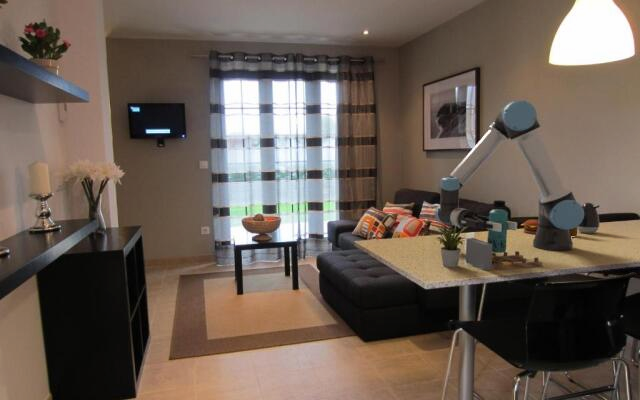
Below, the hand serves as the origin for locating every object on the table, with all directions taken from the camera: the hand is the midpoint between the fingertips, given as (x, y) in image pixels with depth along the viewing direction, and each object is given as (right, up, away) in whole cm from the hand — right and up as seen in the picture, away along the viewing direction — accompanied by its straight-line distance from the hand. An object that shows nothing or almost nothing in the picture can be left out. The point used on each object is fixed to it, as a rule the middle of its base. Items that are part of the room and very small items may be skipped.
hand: (508, 227), depth 156 cm
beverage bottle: (-2, -11, +6) cm, 12 cm away
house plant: (-20, -14, +6) cm, 25 cm away
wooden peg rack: (+2, -14, +7) cm, 16 cm away
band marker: (-2, -13, +6) cm, 14 cm away
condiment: (+54, -8, +59) cm, 80 cm away
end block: (-9, -14, +5) cm, 17 cm away
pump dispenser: (+68, -7, +67) cm, 95 cm away
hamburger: (+42, -7, +69) cm, 81 cm away
